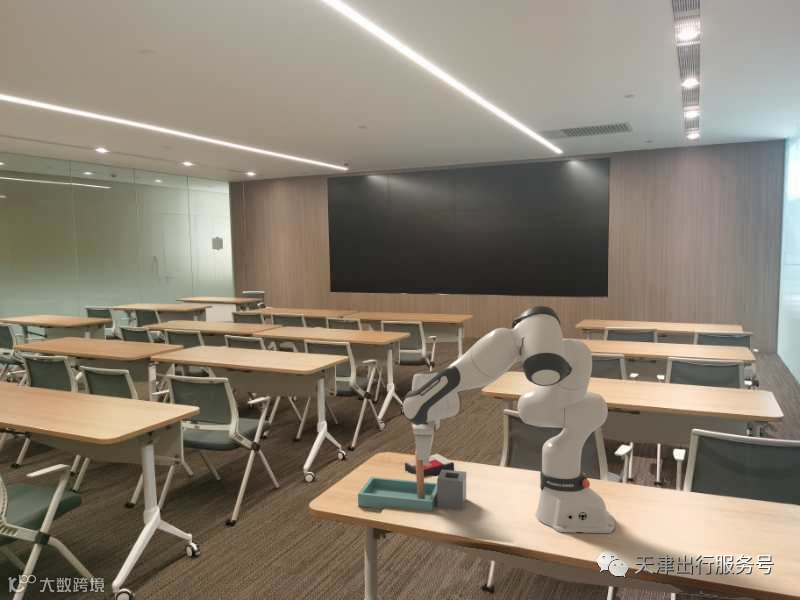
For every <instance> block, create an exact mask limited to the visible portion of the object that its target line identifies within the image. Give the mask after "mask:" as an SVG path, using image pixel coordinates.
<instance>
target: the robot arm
mask: <svg viewBox="0 0 800 600" xmlns="http://www.w3.org/2000/svg"><path fill="white" fill-rule="evenodd" d="M591 351H592V350H591V349H590V347H589V346H588V345H587V344H586V343H585V342H584V341H582V340H579V339H576V338H568V339H564V335H563V333H562V328H561V321H560V319H559V316H558V314H557V312H556V311H555V310H554V309H553V308H551V307H549V306H543V305H534V306H532V307H529V308H528V309H526V310H525V311H523V312H522V313H521V314H520V315H519V316H518V317H516V318H514V319H513V321H512V323H511V328H506V327H498V328H495V329H493V330H492V331H490V332H488V333H487V334H484V336H482V337H481V338H480V339H478V340H477V341H476V342H475V343H474V344H473V345H472V346H471V347H470V348H469V349H468V350H466V352H465V353H463V355H461V356H460V357H459V358H458V359H456V360H455V361H454V362H451V364H450V365H447V366H446V367H445V368H444V369H443V370H442V371H439V373H438V371H436V370H427V371H420V372H416V373H414V374H413V377H412V381H411V382H412V383H411V390H410V391H408V392H407V393H406V395H405V396H404V398H403V401H402V404H401V405H402V406H401V407H402V409H401V410H402V412H403V415H404V417H405V418H406V419H407V421H409V422H410V423H411V428H412V431H413V435H414V437H415V438H414V439H415V440H414V441H415V451H416V452H417V458H418V460H422V461H423V465H425V466H427V465H428V462H429V458H430V456H431V452H432V446H433V440H434V435H435V433H436V431H437V430H438V429H440V423H441V422H440V421H441V420H443V419H444V420H445V419H448V418H453V417H455V416H458V414H459V412H460V410H461V407H462V396H461V394H460V393H459V392H462V391H467V390H472V389H478V388H483V387H486V386H489V385H490V384H492V383H494V382H496V381H498V380H499V379H500V378H501V377H502V376H503V375H505V373H506V372H508V371H509V369H511V367H512V366H513V365H514V364H516V363H518V362H521V361H522V369H523V372H524V376H525V378H526V379H527V380H528V382H530V383H532V384H534V385H536V386H537V387H535V388H533V389H530V390H526V391H524V392H523V393H522V394H521V395H520V397H519V399H518V401H517V412H518V413H517V414H518V416H519V418H520V419H521V421H522V422H523V423H524V424H527V425H530V426H535V427H538V428H539V427H540V428H562V430H561V432H560V433H558V434H557V435H555V436H553V437H550V438H549V439H547V441H545V442H544V443H543V445H542V448H541V453H542V454H541V469H540V474H539V487H540V493H539V494H540V495H539V499H538V500H539V501H538V505H537V509H536V512H535V517H536V518H537V519H538V521H540V522H541V523H543V524H544V525H547V526H549V527H551V528H553V529H554V530H555V531H557V532H560V533H576V532H583V534H584V533H586V534H588V533H589V534H590V533H591V534H611V533H613V532H614V531H615V529H614V528H616V523H615V518H614V517H613V515H612V513H611V512H610V511H609V510H607V507H606V502H605V501H604V499H603V497H602V496H601V495H600V494H598V493H597V492H596V491H594V490H593V489H592V488H590V486H591V483H590V481H589V479H588V476H587V475H586V473H585V472H581V464H582V463H581V461H582V452H583V447H584V445H585V443H586V441H587V439H588V438H589V436H590V435H591V434H592V433H594V432H595V430H597V429H598V428H600V427H601V426H603V425H604V423H605V422H606V420H607V418H608V413H609V412H608V411H609V409H608V405H607V401H606V400H605V398H604V396H602V395H601V394H600V393H595V392H592V391H588V389H589V383H590V380H591V375H592V371H593V355H592V352H591ZM613 530H614V531H613ZM612 531H613V532H612Z"/></svg>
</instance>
